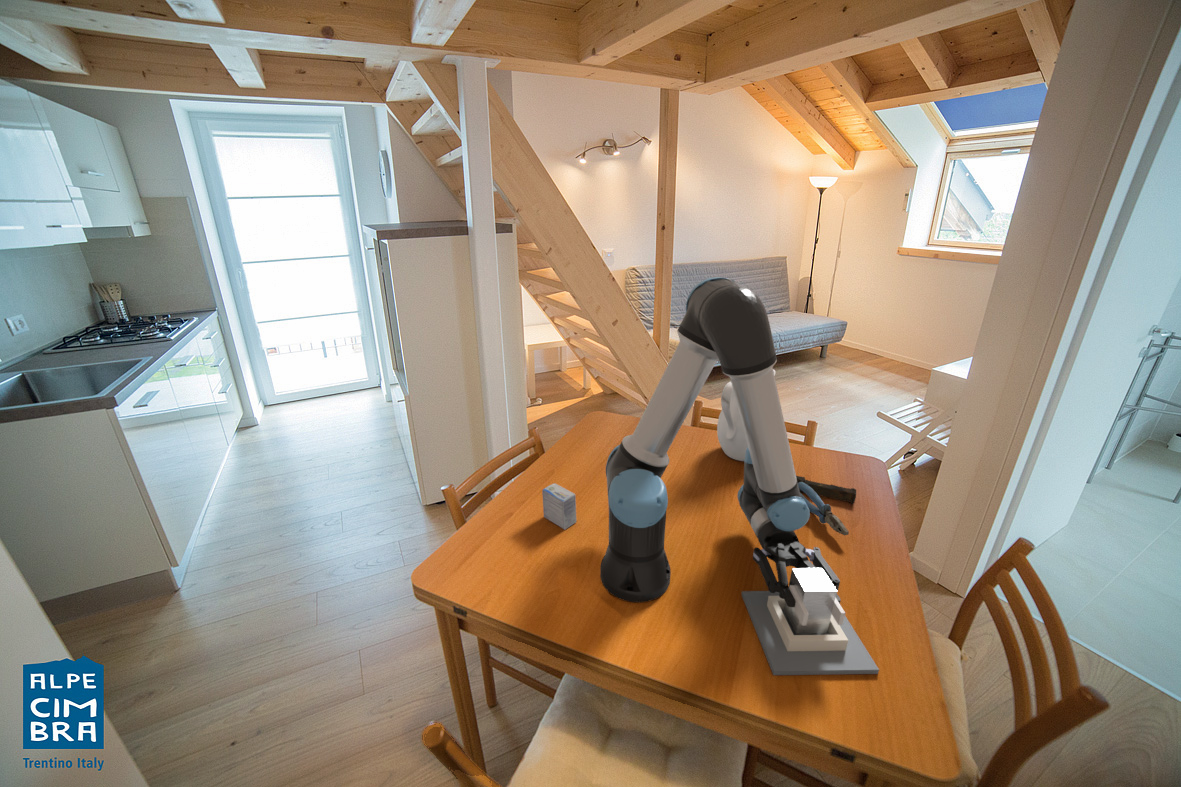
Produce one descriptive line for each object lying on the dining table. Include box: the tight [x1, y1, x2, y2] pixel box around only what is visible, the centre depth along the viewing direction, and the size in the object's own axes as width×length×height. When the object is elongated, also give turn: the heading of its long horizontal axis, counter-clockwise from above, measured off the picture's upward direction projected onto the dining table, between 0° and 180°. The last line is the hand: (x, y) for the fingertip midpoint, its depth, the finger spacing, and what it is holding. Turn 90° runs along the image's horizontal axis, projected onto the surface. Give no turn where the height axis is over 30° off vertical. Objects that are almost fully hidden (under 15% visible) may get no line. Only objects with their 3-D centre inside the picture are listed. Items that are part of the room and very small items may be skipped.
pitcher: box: [716, 368, 777, 462], centre depth 146 cm, size 24×17×28 cm
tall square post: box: [784, 567, 838, 634], centre depth 87 cm, size 6×6×10 cm
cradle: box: [741, 590, 880, 676], centre depth 89 cm, size 18×18×4 cm
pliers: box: [798, 482, 850, 536], centre depth 120 cm, size 20×2×6 cm, turn 9°
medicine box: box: [541, 483, 577, 530], centre depth 120 cm, size 8×4×9 cm, turn 47°
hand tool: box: [796, 475, 857, 505], centre depth 131 cm, size 19×4×5 cm, turn 64°
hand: (823, 619), depth 82 cm, fingers closed on tall square post, 6 cm apart
